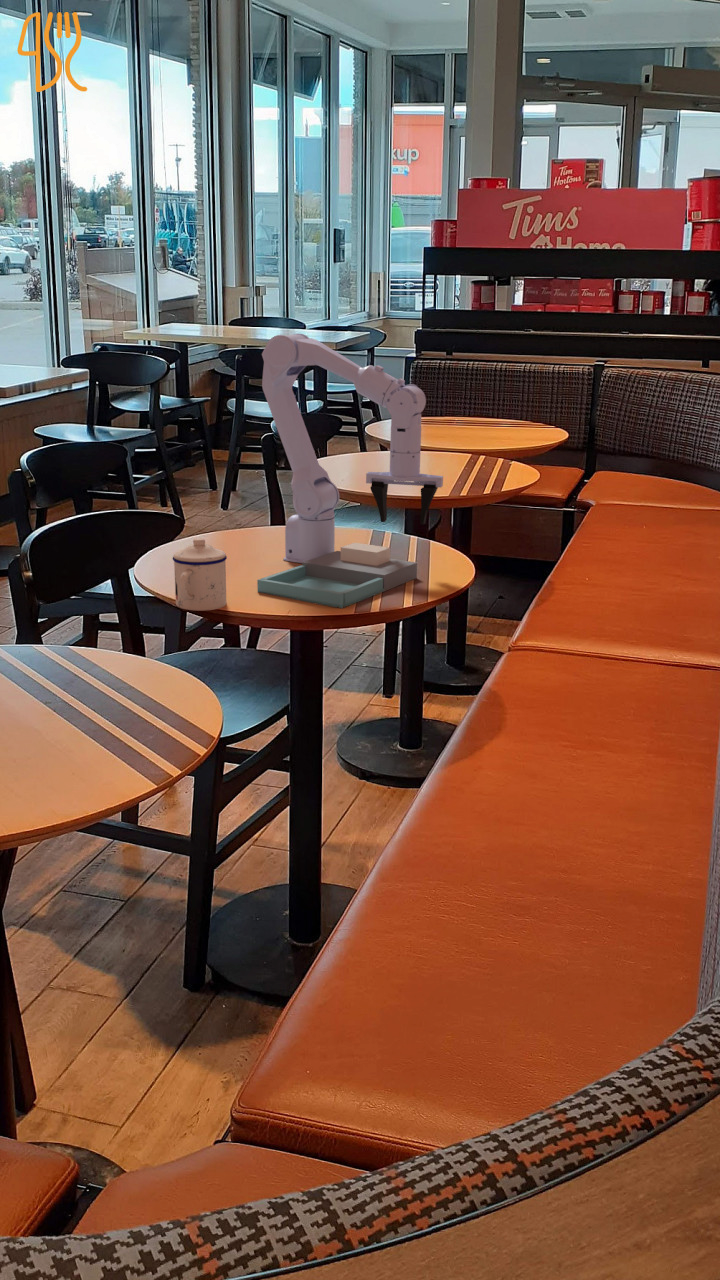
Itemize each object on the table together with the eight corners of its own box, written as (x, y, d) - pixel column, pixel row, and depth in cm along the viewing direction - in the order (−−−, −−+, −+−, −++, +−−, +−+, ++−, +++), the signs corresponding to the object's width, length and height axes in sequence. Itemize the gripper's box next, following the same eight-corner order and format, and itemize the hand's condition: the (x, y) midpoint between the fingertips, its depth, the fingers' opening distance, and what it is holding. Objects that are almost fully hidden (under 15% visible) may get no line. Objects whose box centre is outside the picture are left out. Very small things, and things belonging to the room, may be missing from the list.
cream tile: (340, 560, 216) (340, 547, 216) (354, 555, 220) (354, 542, 220) (376, 565, 212) (376, 552, 211) (390, 560, 216) (390, 547, 216)
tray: (257, 593, 204) (257, 579, 203) (302, 577, 215) (302, 564, 214) (341, 608, 195) (341, 594, 194) (384, 591, 206) (384, 577, 205)
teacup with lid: (188, 597, 201) (185, 532, 198) (236, 601, 199) (234, 535, 195) (157, 614, 190) (154, 546, 187) (208, 619, 188) (206, 550, 184)
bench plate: (302, 577, 215) (302, 562, 214) (337, 565, 225) (337, 550, 224) (384, 591, 206) (384, 575, 205) (416, 578, 216) (417, 562, 215)
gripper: (362, 452, 212) (361, 523, 216) (439, 456, 209) (437, 528, 213) (371, 447, 219) (369, 517, 223) (445, 451, 216) (443, 521, 220)
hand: (403, 522), depth 219 cm, fingers open, 7 cm apart
